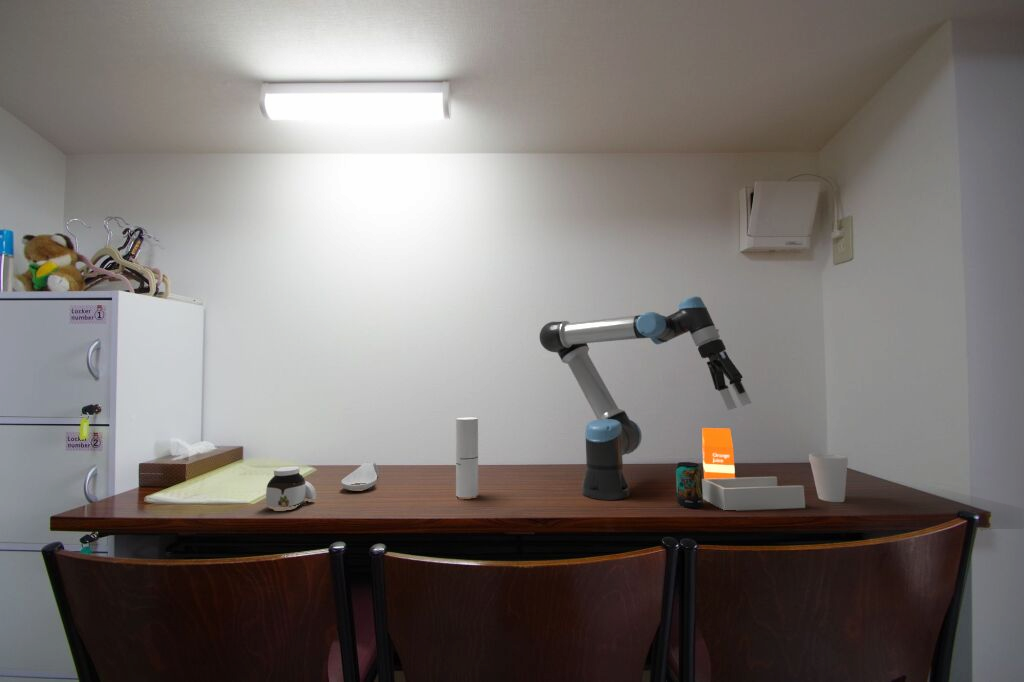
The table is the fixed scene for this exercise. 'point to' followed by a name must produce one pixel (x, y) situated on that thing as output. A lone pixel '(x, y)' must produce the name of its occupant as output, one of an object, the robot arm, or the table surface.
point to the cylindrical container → (466, 457)
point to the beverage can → (689, 485)
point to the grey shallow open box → (752, 493)
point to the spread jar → (288, 488)
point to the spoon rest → (361, 477)
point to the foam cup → (829, 475)
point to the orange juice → (717, 453)
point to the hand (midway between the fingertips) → (739, 407)
